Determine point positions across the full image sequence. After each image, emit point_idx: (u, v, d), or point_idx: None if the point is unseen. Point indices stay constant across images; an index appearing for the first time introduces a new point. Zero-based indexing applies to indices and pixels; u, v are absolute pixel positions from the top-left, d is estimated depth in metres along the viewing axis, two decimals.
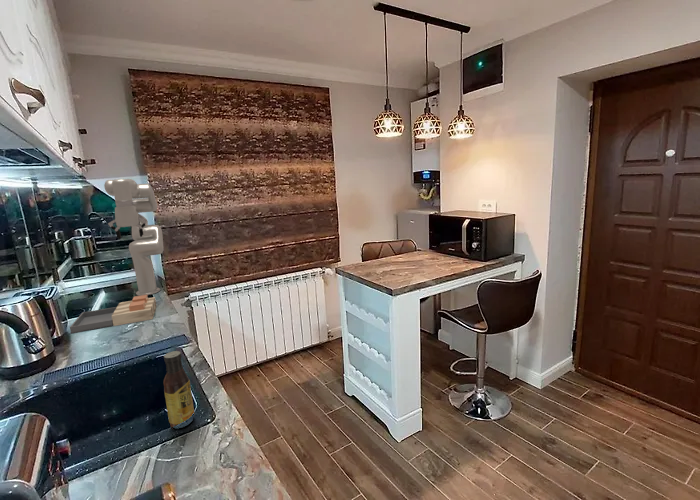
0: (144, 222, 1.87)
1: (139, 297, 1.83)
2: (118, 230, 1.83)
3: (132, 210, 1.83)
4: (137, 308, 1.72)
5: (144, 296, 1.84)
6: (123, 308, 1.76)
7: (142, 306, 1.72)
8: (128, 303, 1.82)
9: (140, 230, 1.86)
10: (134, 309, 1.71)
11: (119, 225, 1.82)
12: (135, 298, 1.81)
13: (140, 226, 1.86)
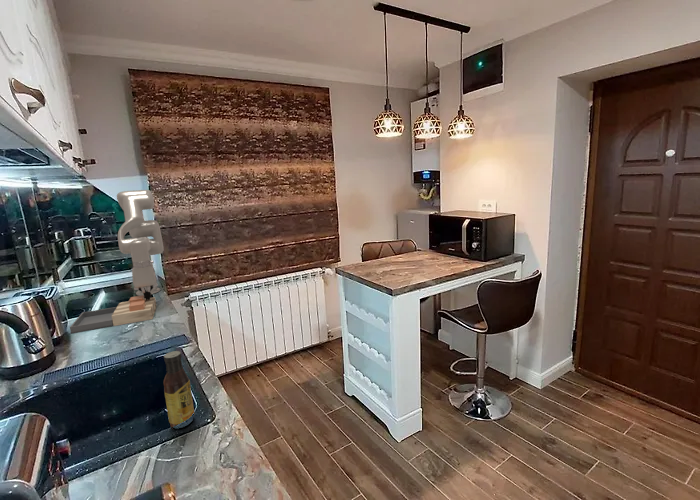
0: (154, 286, 1.84)
1: (136, 298, 1.82)
2: (145, 291, 1.83)
3: (149, 271, 1.80)
4: (137, 308, 1.72)
5: (141, 296, 1.83)
6: (123, 308, 1.76)
7: (142, 306, 1.72)
8: (128, 303, 1.82)
9: (148, 293, 1.83)
10: (134, 309, 1.71)
11: (136, 286, 1.79)
12: (132, 299, 1.81)
13: (148, 289, 1.82)
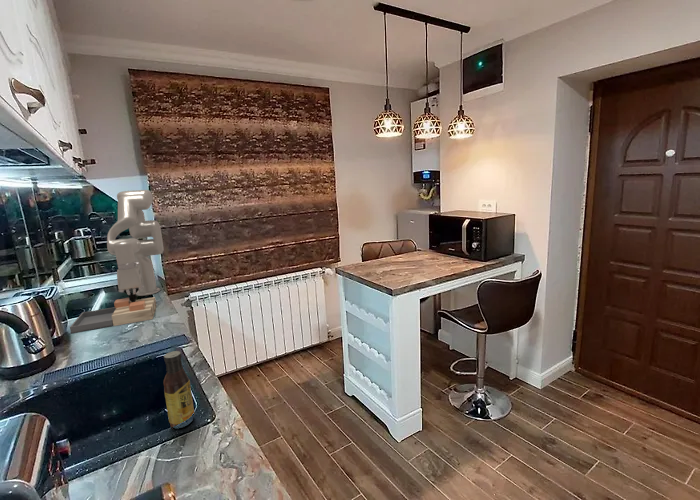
0: (139, 288, 1.81)
1: (121, 300, 1.79)
2: (131, 293, 1.80)
3: (134, 273, 1.78)
4: (137, 308, 1.72)
5: (126, 299, 1.81)
6: (123, 308, 1.76)
7: (142, 306, 1.72)
8: None
9: (133, 295, 1.80)
10: (134, 309, 1.71)
11: (121, 288, 1.77)
12: (117, 301, 1.78)
13: (133, 291, 1.80)
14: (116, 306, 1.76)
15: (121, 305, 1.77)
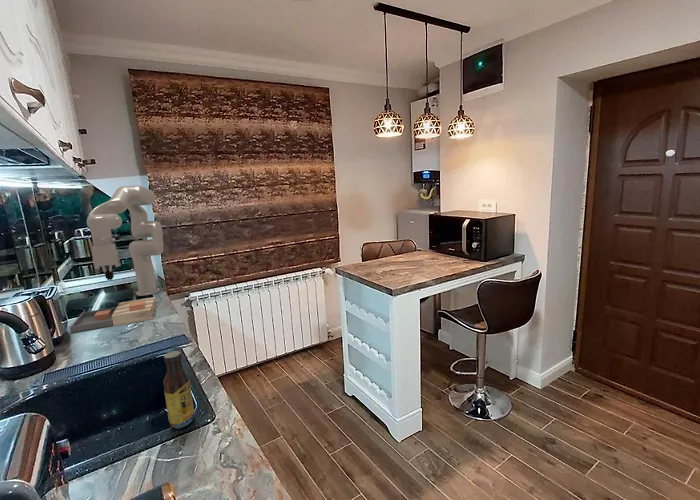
0: (116, 265, 1.74)
1: None
2: (107, 271, 1.73)
3: (110, 249, 1.71)
4: (137, 308, 1.72)
5: None
6: (123, 308, 1.76)
7: (142, 306, 1.72)
8: (128, 303, 1.82)
9: (109, 273, 1.73)
10: (134, 309, 1.71)
11: (97, 265, 1.70)
12: None
13: (109, 269, 1.73)
14: (107, 315, 1.75)
15: (102, 316, 1.74)
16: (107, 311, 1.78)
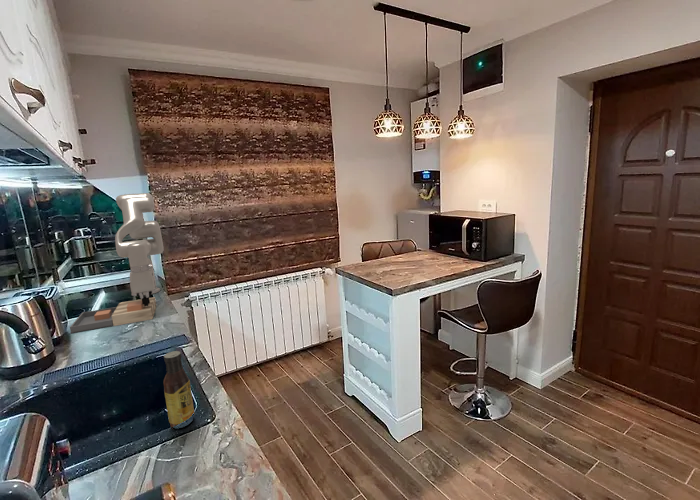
0: (152, 291, 1.75)
1: None
2: (144, 297, 1.74)
3: (148, 275, 1.72)
4: (135, 308, 1.71)
5: None
6: (123, 308, 1.76)
7: (140, 306, 1.72)
8: None
9: (146, 299, 1.74)
10: (132, 309, 1.71)
11: (134, 291, 1.71)
12: None
13: (146, 295, 1.74)
14: (107, 315, 1.75)
15: (102, 316, 1.74)
16: (107, 311, 1.78)
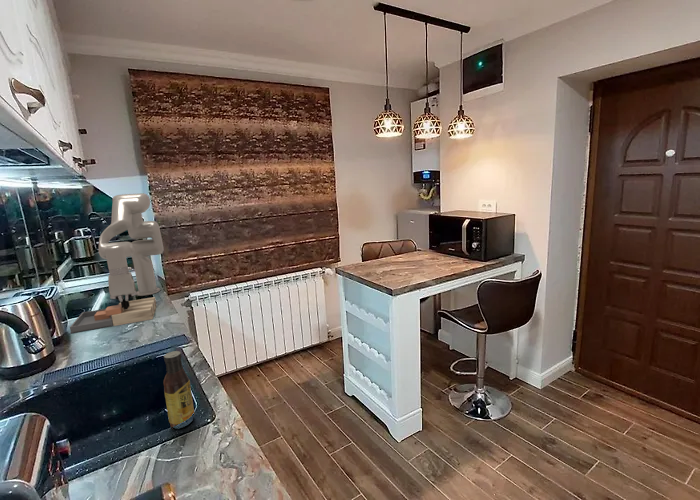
0: (132, 294, 1.72)
1: None
2: (123, 300, 1.71)
3: (127, 278, 1.68)
4: (114, 312, 1.67)
5: None
6: None
7: (119, 310, 1.68)
8: None
9: (126, 302, 1.70)
10: (111, 313, 1.67)
11: (113, 294, 1.67)
12: None
13: (126, 298, 1.70)
14: None
15: (102, 316, 1.74)
16: None
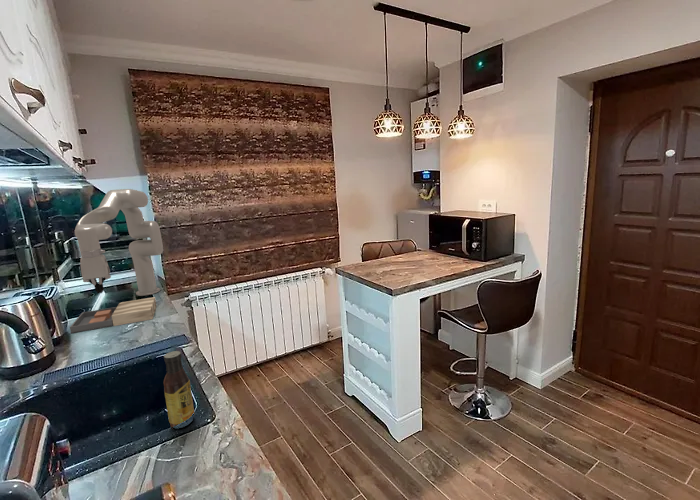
0: (106, 277, 1.67)
1: None
2: (97, 284, 1.66)
3: (100, 261, 1.63)
4: None
5: None
6: (123, 308, 1.76)
7: None
8: (128, 303, 1.82)
9: (99, 286, 1.66)
10: None
11: (85, 278, 1.63)
12: None
13: (99, 281, 1.66)
14: (107, 315, 1.75)
15: (102, 316, 1.74)
16: (107, 311, 1.78)
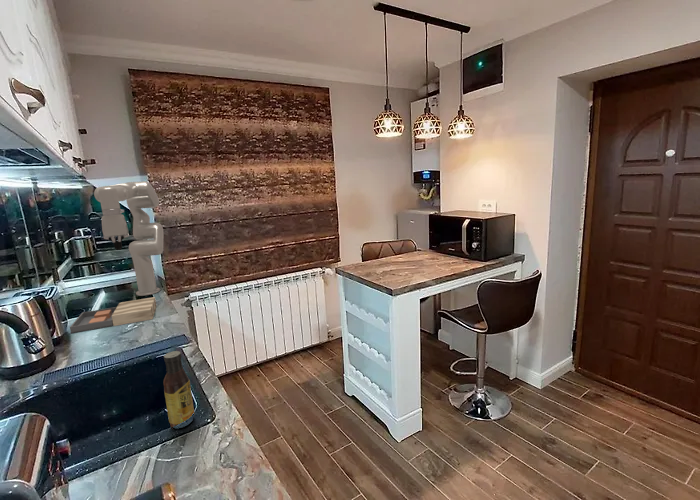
0: (124, 236, 1.80)
1: None
2: (116, 241, 1.78)
3: (119, 219, 1.76)
4: None
5: None
6: (123, 308, 1.76)
7: None
8: (128, 303, 1.82)
9: (118, 243, 1.78)
10: None
11: (106, 235, 1.75)
12: None
13: (118, 239, 1.78)
14: (107, 315, 1.75)
15: (102, 316, 1.74)
16: (107, 311, 1.78)
